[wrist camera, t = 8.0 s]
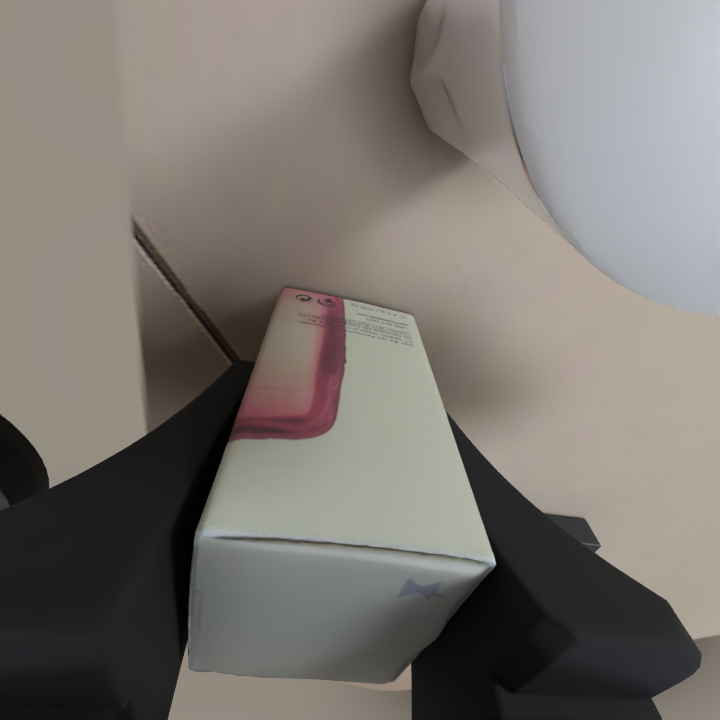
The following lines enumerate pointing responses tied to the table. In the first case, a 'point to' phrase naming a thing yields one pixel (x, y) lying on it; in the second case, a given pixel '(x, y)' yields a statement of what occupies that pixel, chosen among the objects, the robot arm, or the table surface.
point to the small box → (334, 506)
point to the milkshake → (591, 126)
